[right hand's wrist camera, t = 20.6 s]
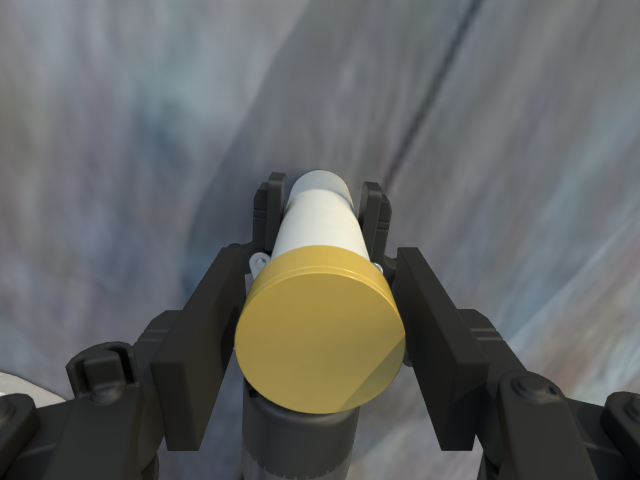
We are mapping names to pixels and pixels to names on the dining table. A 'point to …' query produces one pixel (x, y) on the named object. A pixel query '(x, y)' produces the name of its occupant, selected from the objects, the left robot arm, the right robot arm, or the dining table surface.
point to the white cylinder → (319, 216)
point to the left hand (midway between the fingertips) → (324, 181)
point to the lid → (320, 331)
